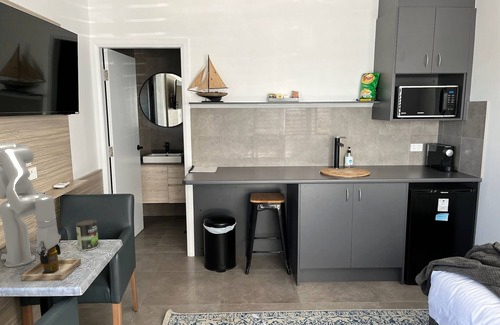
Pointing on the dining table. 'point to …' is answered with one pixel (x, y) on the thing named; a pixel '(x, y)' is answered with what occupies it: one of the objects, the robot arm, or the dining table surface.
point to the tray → (36, 274)
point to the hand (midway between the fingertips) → (51, 259)
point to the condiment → (51, 262)
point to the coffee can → (87, 235)
